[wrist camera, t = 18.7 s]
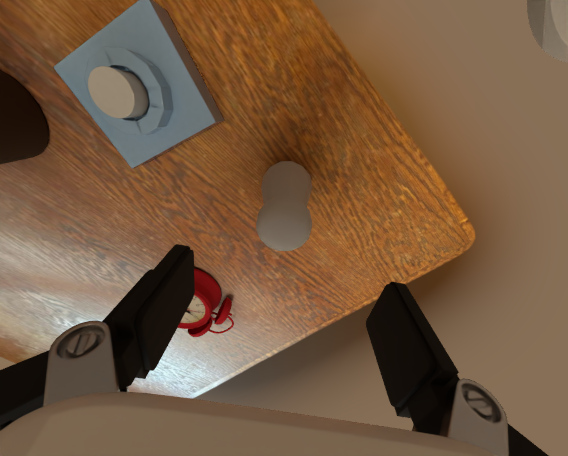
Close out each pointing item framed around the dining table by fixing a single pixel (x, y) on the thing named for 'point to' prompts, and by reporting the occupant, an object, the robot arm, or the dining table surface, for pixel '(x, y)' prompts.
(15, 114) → the olive oil
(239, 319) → the dining table surface
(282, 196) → the salt shaker
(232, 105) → the dining table surface
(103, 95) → the round push button
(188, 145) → the dining table surface
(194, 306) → the alarm clock
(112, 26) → the square base with collar
